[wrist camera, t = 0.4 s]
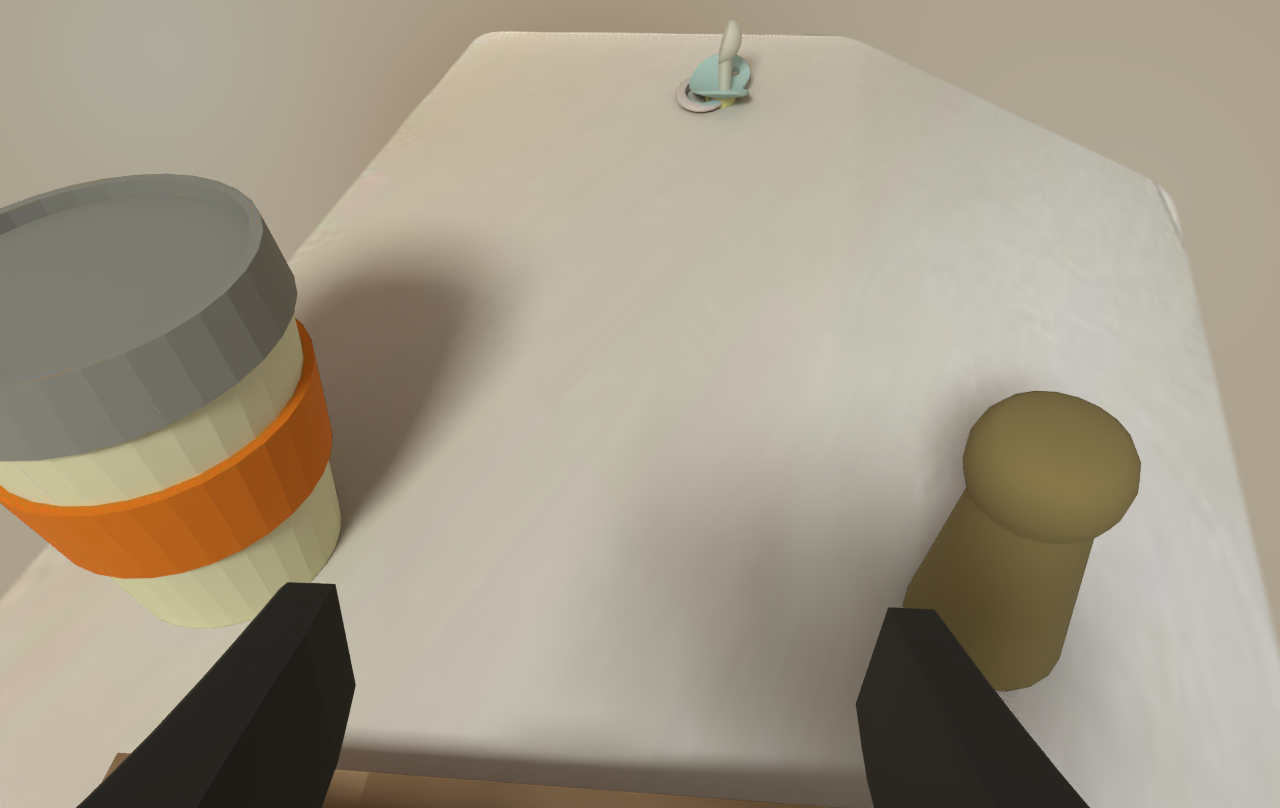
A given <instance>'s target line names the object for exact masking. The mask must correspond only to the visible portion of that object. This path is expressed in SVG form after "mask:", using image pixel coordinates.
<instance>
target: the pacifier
mask: <svg viewBox="0 0 1280 808" xmlns="http://www.w3.org/2000/svg"><path fill="white" fill-rule="evenodd" d="M741 39H742V35H741V30H740V27H739V25H738V24H737V23H736V22H735V21H734V20H732V19H729V21H728V23H727V25H726V28H725V31H724V34H723V37H722V41H721V45H720V50H719V54H717V55H713V56H712V57H710V58H708V59H706V60H704V61H703V62H702V63H701V64H700V65H699V66H698V67H697V68H696V70H695V71H694V72H693V74H692V76H691V78H688V79H686V80H685V81H683V82H682V83H681V84H680V85H679V86H678V88H677V90H676V93H675V94H676V100H677V102H678V104H679V105H680V106H681V107H683V108H685V109H687V110H690V111H693V112H707V111H711V110H714V109H716V108H725V107H728V106H730V105H732V104H733V103H734V101H735V99H736V98H737V97H744V96H748V95H749V91H748V90H746V89H743V88H744V87H745V86H746V85H747V83H748V81H749V76H750V70H749V66H748V64H747V63H746V61H745V60H744V59H743V58H742V57H740V56H738V55H736V54H737V52H738V50H739V48H740V45H741ZM733 71H738V72H739V74H738V75H736V76H732V72H733ZM689 90H691V92H693V93H696V94H698V95H702V96H705V101H706V102H696V101H693V100H691V99H689V98H688V97H687V95H686V93H687V92H688V91H689Z"/></svg>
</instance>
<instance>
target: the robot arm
mask: <svg viewBox="0 0 1280 808" xmlns="http://www.w3.org/2000/svg"><path fill="white" fill-rule="evenodd" d="M355 686H356V684H355V679H354V674H353V669H352V664H351V659H350V654H349V649H348V644H347V639H346V634H345V630H344V625H343V620H342V615H341V610H340V605H339V600H338V595H337V590H336V585H335V584H321V583H298V582H287V583H286V584H285V585H283V586H282V587H281V588H280V589H279V590H278V591H277V592H276V594H275V595H274V596H273V597H272V598H271V599H270V601H269V602H268V603H267V604H266V605H265V607H264V608H263V609H262V610H261V611H260V612H259V614H258V615H257V616H256V617H255V618H254V619H253V621H252V622H251V623H250V624H249V625H248V627H247V628H246V629H245V630H244V631H243V632H242V634H241V635H240V636H239V637H238V638H237V639H236V640H235V642H234V643H233V644H232V645H231V646H230V647H229V649H228V650H227V651H226V652H225V653H224V654H223V655H222V656H221V658H220V659H219V660H218V661H217V662H216V663H215V664H214V666H213V667H212V668H211V669H210V670H209V671H208V672H207V673H206V675H205V676H204V677H203V678H202V679H201V680H200V681H199V682H198V683H197V684H196V685H195V687H194V688H193V689H192V690H191V691H190V692H189V693H188V694H187V695H186V696H185V697H184V698H183V700H182V701H181V702H180V703H179V704H178V705H177V706H176V707H175V708H174V709H173V710H172V711H171V713H170V714H169V715H168V716H167V717H166V718H165V719H164V720H163V721H162V722H161V723H160V724H159V725H158V727H157V728H156V729H155V730H154V731H153V732H152V733H151V734H150V735H149V736H148V737H147V738H146V739H145V740H144V741H143V742H142V743H141V744H140V745H139V746H138V747H137V748H136V749H135V750H134V751H133V752H132V753H131V754H130V755H129V756H128V757H127V758H126V759H125V760H124V761H123V762H122V763H121V764H120V765H119V766H118V767H117V768H116V769H115V770H114V771H113V772H112V773H111V774H110V775H109V776H108V777H107V778H106V779H105V780H104V781H103V782H102V783H101V784H100V785H99V786H98V787H97V788H96V789H95V790H94V791H93V792H92V793H91V794H90V795H89V796H88V797H87V798H86V799H85V800H84V801H83V802H82V803H81V804H79V805H78V806H77V807H76V808H322V806H323V803H324V800H325V797H326V794H327V792H328V789H329V786H330V783H331V780H332V777H333V774H334V771H335V769H336V766H337V763H338V759H339V755H340V750H341V746H342V742H343V738H344V734H345V730H346V726H347V721H348V717H349V713H350V708H351V704H352V699H353V695H354V690H355ZM856 709H857V716H858V723H859V730H860V737H861V745H862V751H863V757H864V763H865V770H866V776H867V782H868V785H869V789H870V793H871V797H872V801H873V805H874V808H1090V807H1089V806H1088V805H1087V804H1086V803H1085V801H1084V800H1083V799H1082V798H1081V797H1080V796H1079V794H1078V793H1077V792H1076V791H1075V790H1074V788H1073V787H1072V786H1071V785H1070V784H1069V783H1068V781H1067V780H1066V779H1065V778H1064V777H1063V775H1062V774H1061V773H1060V772H1059V771H1058V769H1057V768H1056V767H1055V766H1054V764H1053V763H1052V762H1051V761H1050V759H1049V758H1048V757H1047V756H1046V754H1045V753H1044V752H1043V751H1042V750H1041V748H1040V747H1039V746H1038V745H1037V743H1036V742H1035V741H1034V740H1033V738H1032V737H1031V736H1030V735H1029V733H1028V732H1027V731H1026V730H1025V728H1024V727H1023V726H1022V725H1021V723H1020V722H1019V721H1018V720H1017V718H1016V717H1015V716H1014V714H1013V713H1012V712H1011V711H1010V709H1009V708H1008V707H1007V705H1006V704H1005V703H1004V701H1003V700H1002V699H1001V698H1000V696H999V695H998V694H997V692H996V691H995V690H994V688H993V687H992V686H991V684H990V683H989V682H988V680H987V679H986V678H985V676H984V675H983V674H982V672H981V671H980V670H979V668H978V667H977V666H976V664H975V663H974V662H973V660H972V659H971V658H970V656H969V655H968V654H967V652H966V651H965V650H964V648H963V647H962V645H961V644H960V643H959V641H958V640H957V639H956V637H955V636H954V635H953V633H952V632H951V631H950V629H949V628H948V626H947V625H946V624H945V622H944V621H943V620H942V618H941V617H940V616H939V615H938V613H937V612H936V611H935V610H934V609H914V608H890V607H888V610H887V613H886V616H885V619H884V622H883V625H882V628H881V631H880V634H879V636H878V639H877V642H876V645H875V648H874V651H873V654H872V657H871V660H870V663H869V666H868V669H867V672H866V675H865V678H864V681H863V684H862V687H861V690H860V693H859V696H858V699H857V702H856Z"/></svg>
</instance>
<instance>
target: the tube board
mask: <svg viewBox="0 0 1280 808" xmlns="http://www.w3.org/2000/svg"><path fill="white" fill-rule="evenodd" d="M129 755H130V754H127V753H117V755H116V757H115V759H114V761H113V762H112V764H111V766H110V768H109V770H108V772H107V774H106V775H105V777H104V779H103V781H104V780H105V779H106V778H107V777H108V776H109V775H110V774H111V773H112V772H113V771H114V770H115V769H116V768H117V767H118V766H119V765H120V764H121V763H122V762H123V761H124V760H125V759H126V758H127V757H128V756H129ZM103 781H102V782H103ZM322 808H836V807H823V806H810V805H797V804H784V803H771V802H758V801H744V800H731V799H718V798H705V797H692V796H679V795H666V794H653V793H639V792H626V791H613V790H600V789H587V788H574V787H561V786H547V785H534V784H521V783H508V782H495V781H482V780H469V779H455V778H442V777H429V776H416V775H403V774H390V773H377V772H363V771H350V770H337V769H335V771H334V774H333V777H332V780H331V783H330V786H329V789H328V792H327V794H326V797H325V800H324V803H323V806H322Z"/></svg>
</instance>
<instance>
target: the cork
mask: <svg viewBox="0 0 1280 808" xmlns="http://www.w3.org/2000/svg"><path fill="white" fill-rule="evenodd" d="M1140 469H1141V461H1140V459H1139V456H1138V453H1137V450H1136V448H1135V445H1134V443H1133V440H1132V438H1131V435H1130V434H1129V433H1128V431H1127V430H1126V429H1125V428H1124V427H1123V426H1122V424H1121V423H1120V422H1119V421H1118V420H1117V419H1116V418H1114V417H1113V416H1112V415H1110V414H1109V413H1107V412H1106V411H1105V410H1103V409H1102V408H1101V407H1099V406H1096V405H1094V404H1092V403H1090V402H1088V401H1085V400H1083V399H1081V398H1079V397H1075V396H1071V395H1067V394H1063V393H1059V392H1047V391H1031V392H1025V393H1019V394H1015V395H1013V396H1011V397H1009V398H1007V399H1004V400H1002V401H1000V402H998V403H997V404H995V405H993V406H991V407H989V409H988V410H987V411H986V412H985V413H984V414H983V415H982V416H981V417H980V418H979V420H978V421H977V422H976V423H975V425H974V426H973V427H972V429H971V431H970V434H969V437H968V441H967V444H966V448H965V452H964V455H963V471H964V476H965V481H966V489H965V491H964V492H963V494H962V496H961V497H960V499H959V501H958V503H957V504H956V506H955V508H954V509H953V511H952V513H951V514H950V516H949V518H948V520H947V521H946V523H945V525H944V526H943V528H942V530H941V531H940V533H939V535H938V537H937V538H936V540H935V542H934V543H933V545H932V547H931V548H930V550H929V552H928V554H927V555H926V557H925V559H924V560H923V562H922V564H921V565H920V567H919V569H918V571H917V572H916V574H915V576H914V577H913V579H912V581H911V582H910V584H909V586H908V589H907V593H906V596H905V600H904V603H903V607H904V608H914V609H934V610H935V611H936V612H937V613H938V615H939V616H940V617H941V618H942V620H943V621H944V622H945V624H946V625H947V626H948V628H949V629H950V631H951V632H952V633H953V635H954V636H955V637H956V639H957V640H958V641H959V643H960V644H961V645H962V647H963V648H964V650H965V651H966V652H967V654H968V655H969V656H970V658H971V659H972V660H973V662H974V663H975V664H976V666H977V667H978V668H979V670H980V671H981V672H982V674H983V675H984V676H985V678H986V679H987V680H988V682H989V683H990V684H991V686H992V687H993V688H994V690H998V691H1011V690H1016V689H1021V688H1026V687H1030V686H1032V685H1033V684H1035V683H1037V682H1038V681H1040V680H1041V679H1043V678H1045V677H1046V676H1048V675H1049V673H1050V672H1051V670H1052V669H1053V667H1054V666H1055V664H1056V663H1057V661H1058V660H1059V658H1060V654H1061V651H1062V647H1063V644H1064V641H1065V637H1066V634H1067V630H1068V627H1069V623H1070V620H1071V616H1072V613H1073V609H1074V606H1075V602H1076V599H1077V596H1078V592H1079V589H1080V585H1081V582H1082V578H1083V575H1084V571H1085V568H1086V564H1087V561H1088V558H1089V554H1090V551H1091V547H1092V544H1093V540H1094V538H1096V537H1098V536H1099V535H1101V534H1103V533H1104V532H1106V531H1108V530H1109V529H1111V528H1112V527H1113V526H1114V525H1116V524H1117V523H1118V522H1119V521H1120V520H1121V519H1122V517H1123V516H1124V515H1125V513H1126V512H1127V510H1128V509H1129V507H1130V506H1131V504H1132V502H1133V501H1134V499H1135V497H1136V496H1137V494H1138V488H1139V481H1140Z"/></svg>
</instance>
